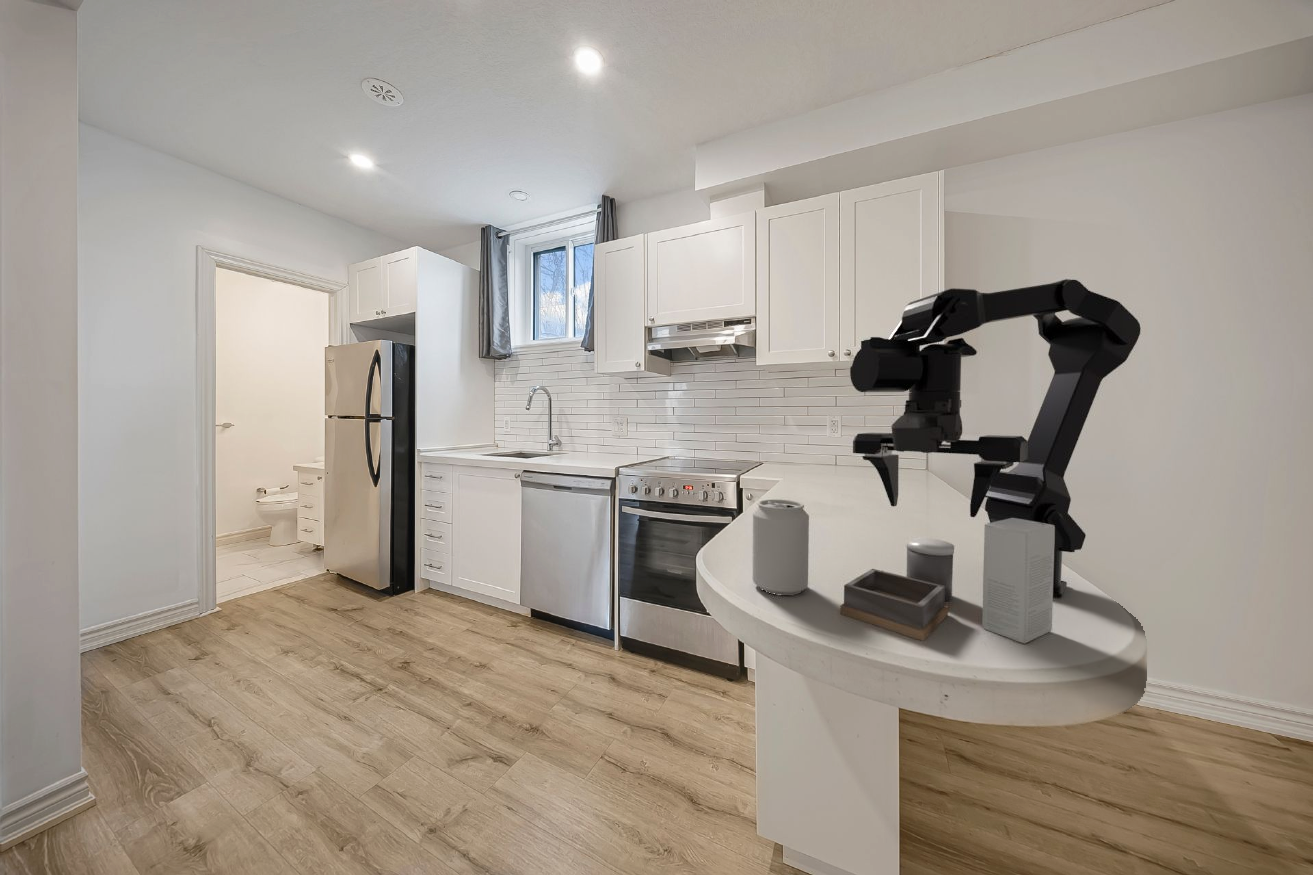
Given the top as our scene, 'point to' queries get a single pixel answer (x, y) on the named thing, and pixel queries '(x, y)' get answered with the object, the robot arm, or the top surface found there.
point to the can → (780, 546)
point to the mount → (895, 603)
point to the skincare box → (1018, 578)
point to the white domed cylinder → (931, 562)
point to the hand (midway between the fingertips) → (931, 511)
